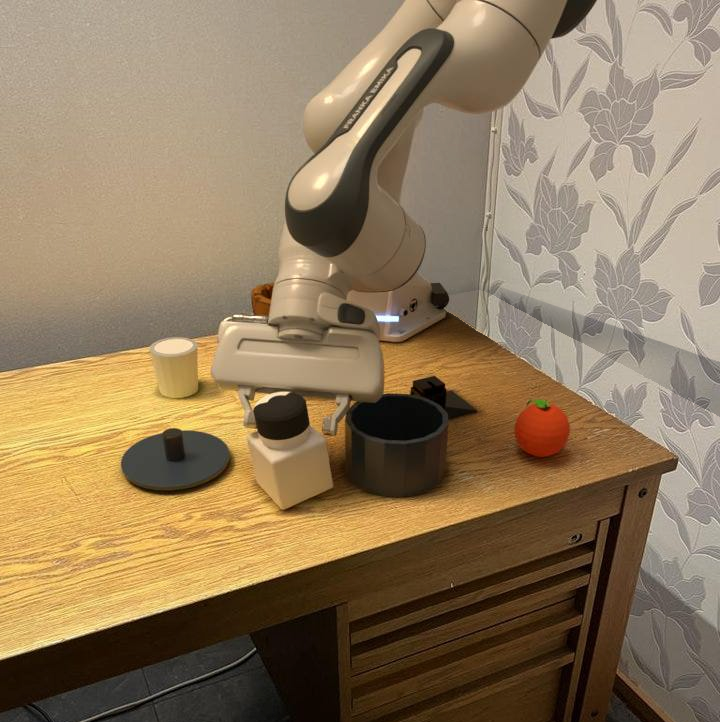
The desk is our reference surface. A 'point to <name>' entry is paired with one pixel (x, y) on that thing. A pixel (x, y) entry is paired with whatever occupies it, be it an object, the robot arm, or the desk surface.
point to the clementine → (542, 429)
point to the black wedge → (442, 397)
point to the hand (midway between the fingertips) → (289, 431)
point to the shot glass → (175, 366)
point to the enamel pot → (396, 445)
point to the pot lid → (175, 460)
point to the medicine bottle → (288, 450)
